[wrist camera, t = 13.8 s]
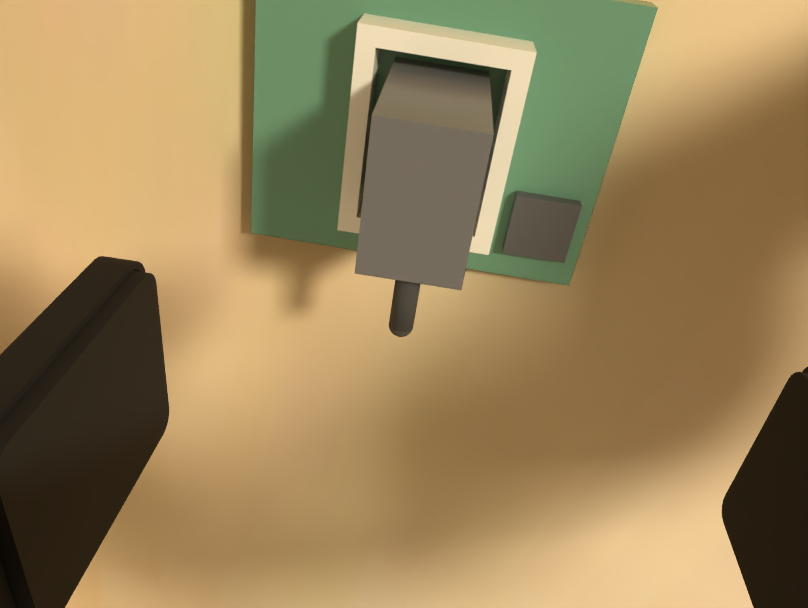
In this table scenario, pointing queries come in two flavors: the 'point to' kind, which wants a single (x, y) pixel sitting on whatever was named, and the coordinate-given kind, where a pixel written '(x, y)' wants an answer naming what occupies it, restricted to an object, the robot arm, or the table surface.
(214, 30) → the table surface
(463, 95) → the plug
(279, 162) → the circuit board
